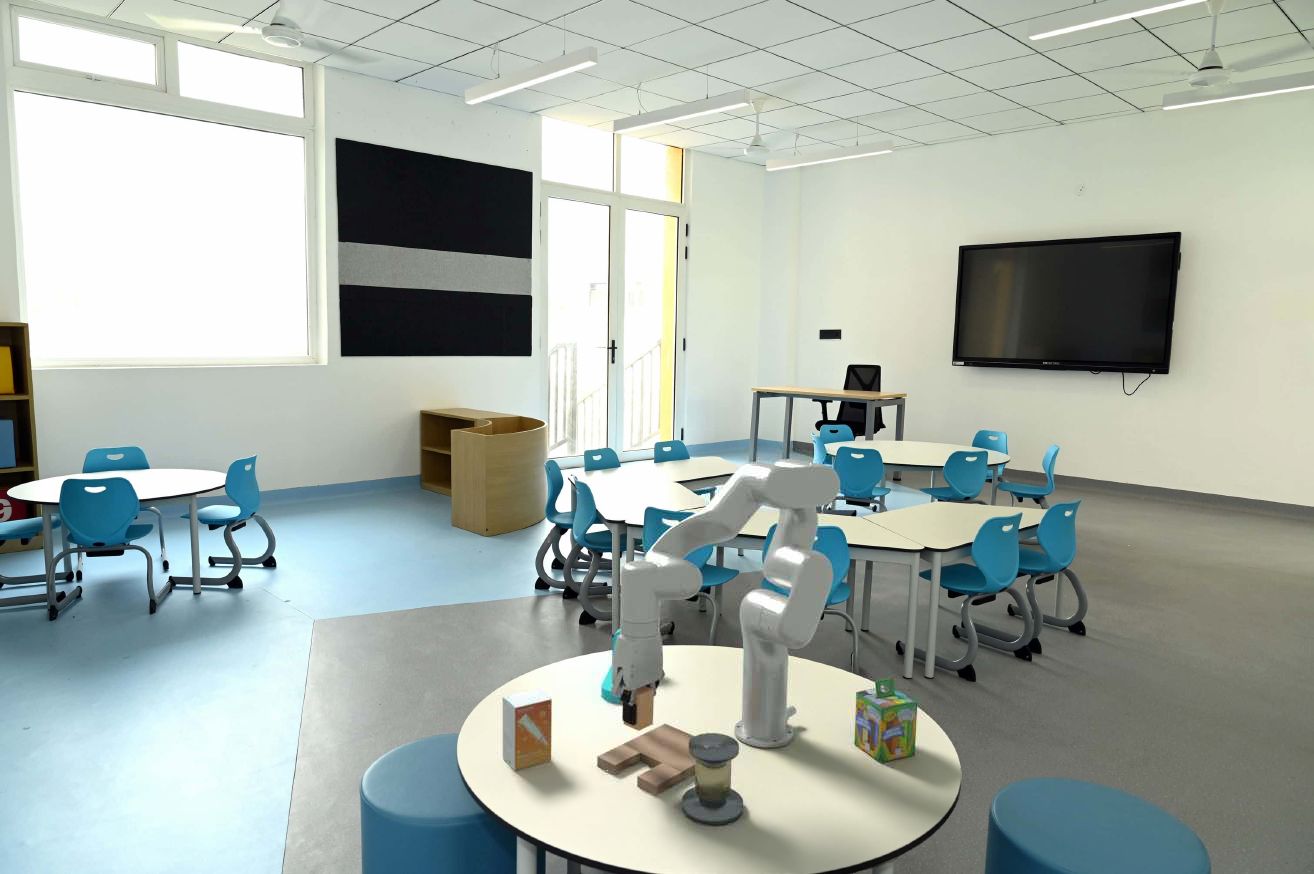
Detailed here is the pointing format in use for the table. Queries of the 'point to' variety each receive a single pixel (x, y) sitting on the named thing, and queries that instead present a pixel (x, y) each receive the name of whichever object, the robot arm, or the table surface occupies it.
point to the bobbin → (713, 781)
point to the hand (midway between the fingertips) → (637, 718)
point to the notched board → (654, 758)
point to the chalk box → (885, 722)
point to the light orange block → (643, 708)
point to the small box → (527, 728)
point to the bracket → (609, 678)
